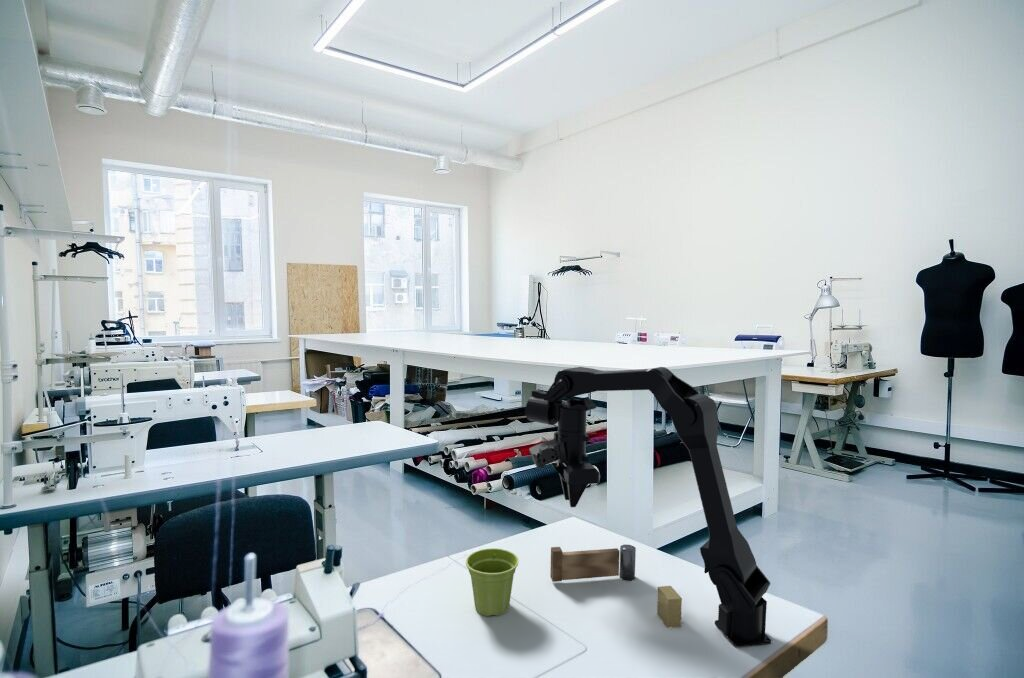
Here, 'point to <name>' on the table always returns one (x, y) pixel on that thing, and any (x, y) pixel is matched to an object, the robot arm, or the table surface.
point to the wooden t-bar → (583, 564)
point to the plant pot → (492, 579)
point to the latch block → (669, 606)
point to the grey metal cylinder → (627, 562)
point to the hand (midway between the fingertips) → (570, 503)
